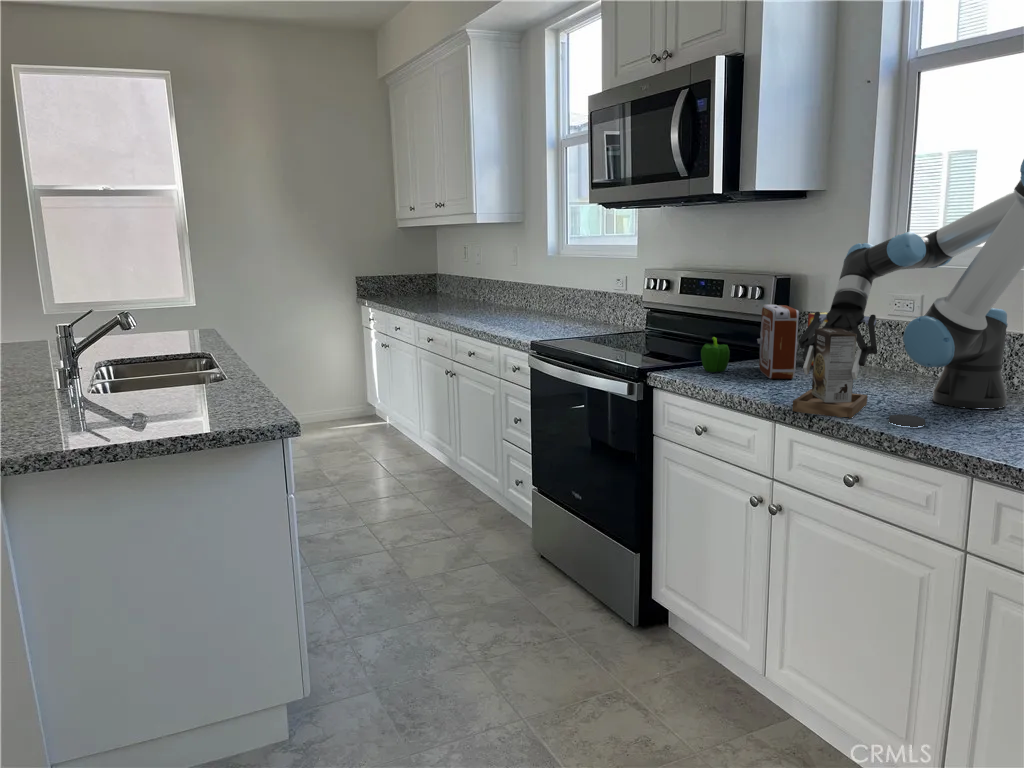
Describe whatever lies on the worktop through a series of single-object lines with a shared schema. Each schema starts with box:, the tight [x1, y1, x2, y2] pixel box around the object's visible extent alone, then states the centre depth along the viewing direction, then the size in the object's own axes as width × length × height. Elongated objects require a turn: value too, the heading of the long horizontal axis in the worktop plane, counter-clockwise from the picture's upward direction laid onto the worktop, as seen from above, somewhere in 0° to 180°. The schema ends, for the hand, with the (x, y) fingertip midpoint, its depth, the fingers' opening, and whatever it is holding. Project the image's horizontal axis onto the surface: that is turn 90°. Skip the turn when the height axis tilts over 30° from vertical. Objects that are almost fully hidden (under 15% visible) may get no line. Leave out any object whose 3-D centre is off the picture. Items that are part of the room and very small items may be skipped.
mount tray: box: [791, 388, 868, 419], centre depth 178 cm, size 13×15×2 cm
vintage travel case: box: [756, 304, 800, 380], centre depth 217 cm, size 9×19×20 cm, turn 174°
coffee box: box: [811, 328, 857, 403], centre depth 176 cm, size 9×6×16 cm
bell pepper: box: [700, 336, 731, 373], centre depth 223 cm, size 8×8×10 cm
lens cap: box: [888, 414, 926, 427], centre depth 163 cm, size 7×7×2 cm
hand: (829, 373), depth 174 cm, fingers closed on coffee box, 10 cm apart
